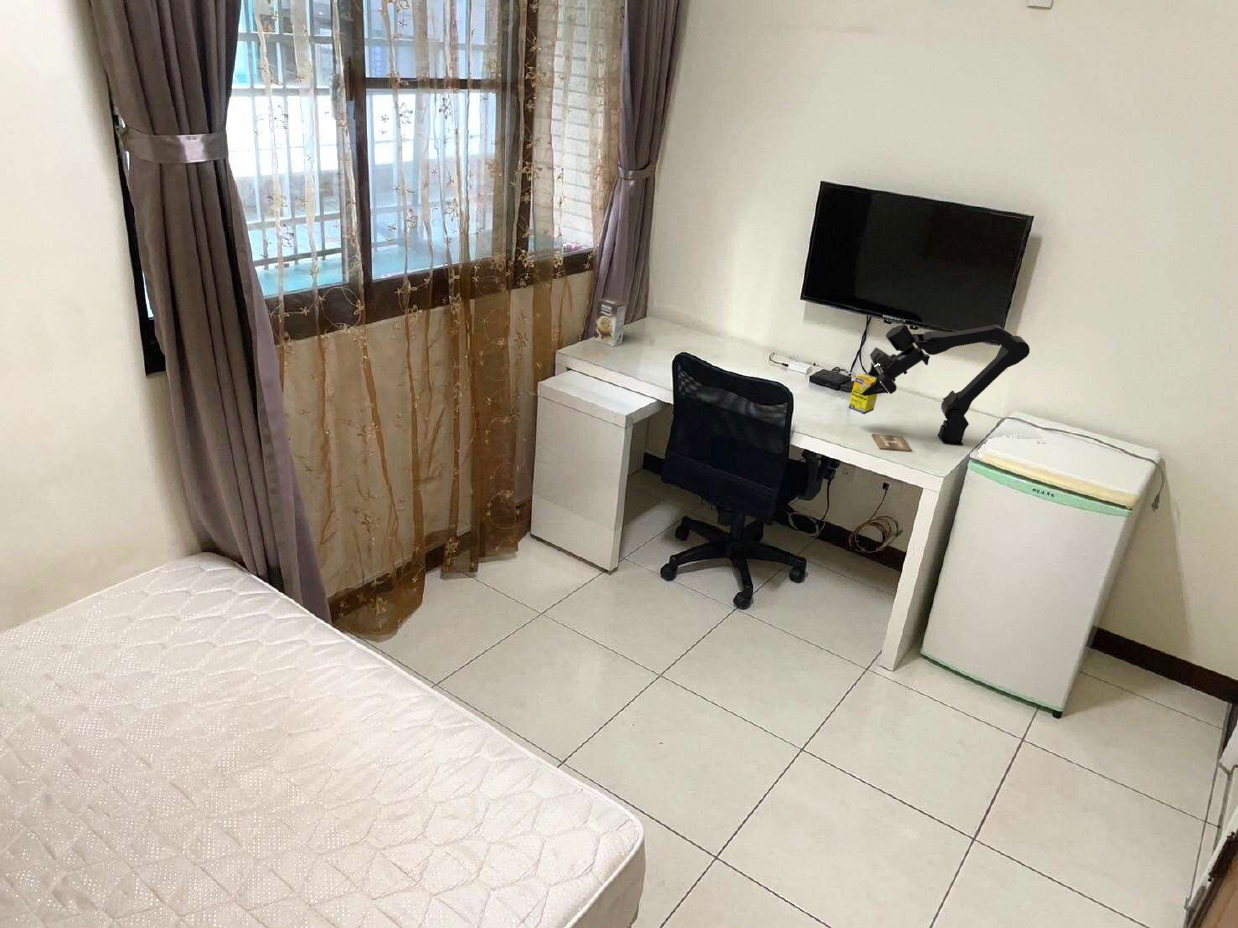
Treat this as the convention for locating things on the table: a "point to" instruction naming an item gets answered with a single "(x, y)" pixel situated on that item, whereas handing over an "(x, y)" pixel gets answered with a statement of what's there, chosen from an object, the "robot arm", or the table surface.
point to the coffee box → (610, 321)
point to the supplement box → (860, 401)
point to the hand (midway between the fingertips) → (860, 389)
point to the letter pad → (891, 442)
